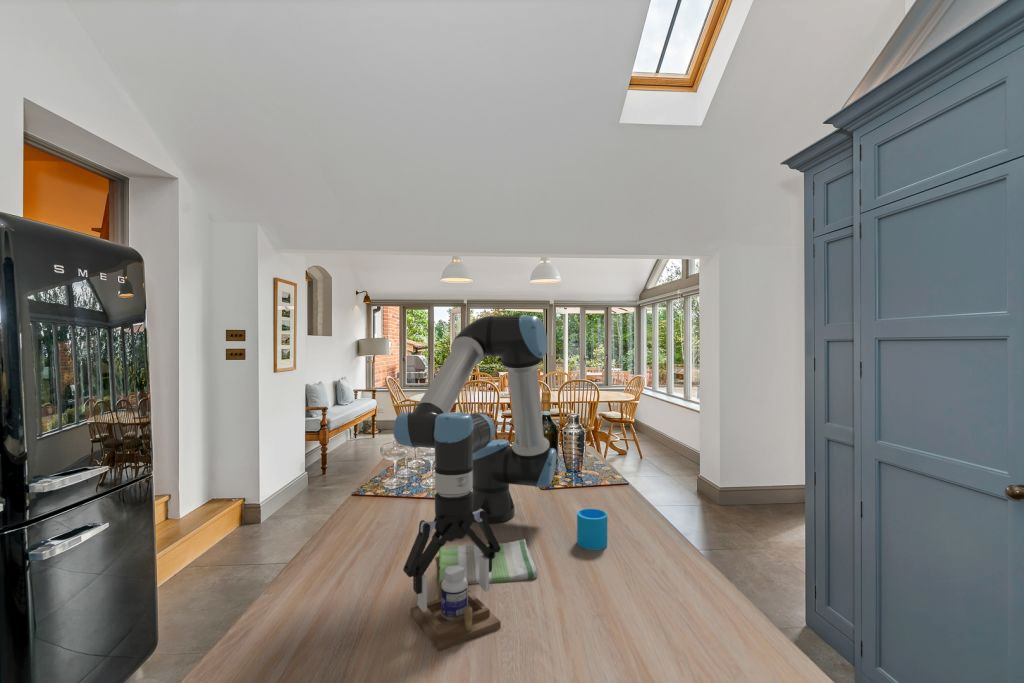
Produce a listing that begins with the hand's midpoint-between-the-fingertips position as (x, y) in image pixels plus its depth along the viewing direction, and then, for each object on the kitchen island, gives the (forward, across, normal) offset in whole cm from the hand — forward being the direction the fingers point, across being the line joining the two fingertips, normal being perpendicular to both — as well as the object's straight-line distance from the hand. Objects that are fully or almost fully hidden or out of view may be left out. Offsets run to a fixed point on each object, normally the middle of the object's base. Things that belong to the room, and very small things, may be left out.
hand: (454, 598), depth 97 cm
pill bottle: (+4, 0, 0) cm, 4 cm away
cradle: (+4, 0, 0) cm, 4 cm away
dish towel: (+5, +17, +17) cm, 24 cm away
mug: (+5, +48, +14) cm, 51 cm away
